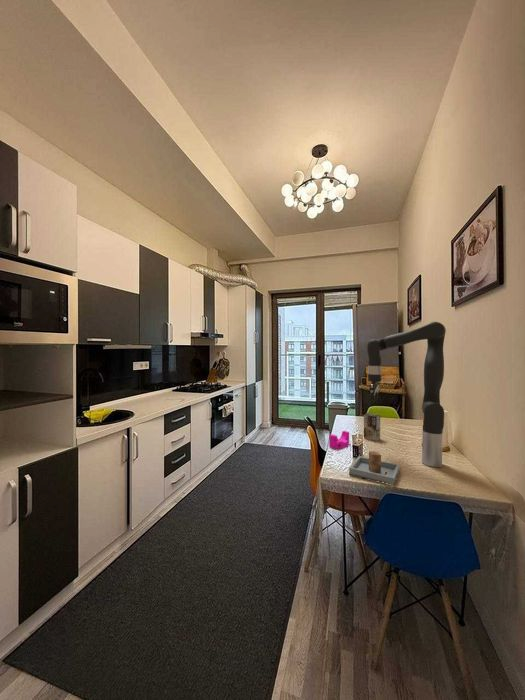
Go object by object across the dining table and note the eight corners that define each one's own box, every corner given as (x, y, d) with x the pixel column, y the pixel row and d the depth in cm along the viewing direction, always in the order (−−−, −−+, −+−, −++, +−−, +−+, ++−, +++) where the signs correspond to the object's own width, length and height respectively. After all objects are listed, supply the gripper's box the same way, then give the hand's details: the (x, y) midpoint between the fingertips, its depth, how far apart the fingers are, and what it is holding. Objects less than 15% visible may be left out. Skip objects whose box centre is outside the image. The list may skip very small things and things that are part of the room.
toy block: (337, 450, 175) (337, 437, 175) (329, 447, 180) (329, 434, 180) (352, 444, 184) (352, 433, 184) (344, 442, 189) (344, 430, 189)
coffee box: (380, 439, 195) (380, 415, 195) (376, 441, 191) (376, 416, 190) (367, 436, 202) (367, 412, 201) (363, 438, 197) (363, 414, 197)
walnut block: (377, 469, 145) (377, 451, 145) (380, 473, 140) (381, 454, 140) (368, 469, 145) (368, 451, 145) (371, 473, 141) (371, 454, 140)
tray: (399, 471, 145) (399, 464, 145) (394, 486, 130) (394, 478, 130) (358, 462, 156) (358, 456, 156) (349, 475, 140) (349, 467, 140)
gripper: (378, 374, 164) (378, 403, 164) (383, 372, 176) (383, 399, 176) (365, 373, 168) (364, 401, 168) (370, 372, 180) (370, 398, 180)
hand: (374, 400), depth 172 cm, fingers open, 8 cm apart
